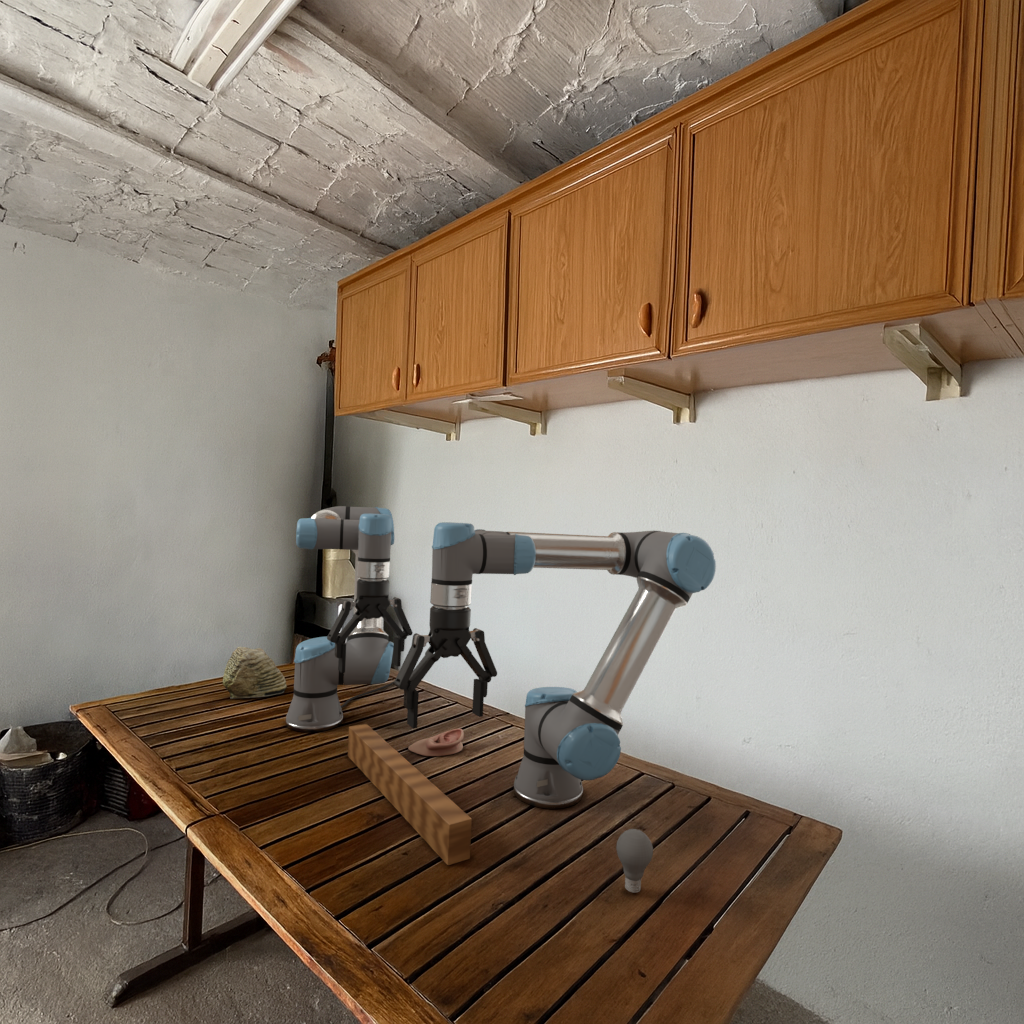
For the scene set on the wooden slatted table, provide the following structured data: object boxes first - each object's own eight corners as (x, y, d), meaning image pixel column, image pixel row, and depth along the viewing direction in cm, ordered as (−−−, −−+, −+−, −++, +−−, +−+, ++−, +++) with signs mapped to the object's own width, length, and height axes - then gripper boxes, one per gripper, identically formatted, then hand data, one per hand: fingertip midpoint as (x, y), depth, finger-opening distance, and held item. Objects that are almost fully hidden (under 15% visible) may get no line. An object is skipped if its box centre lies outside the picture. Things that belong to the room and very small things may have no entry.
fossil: (218, 695, 195) (220, 647, 195) (278, 685, 208) (279, 640, 207) (228, 703, 189) (230, 653, 188) (289, 692, 201) (290, 645, 201)
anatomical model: (404, 737, 158) (420, 722, 169) (403, 753, 158) (419, 736, 169) (455, 743, 155) (468, 727, 166) (454, 760, 155) (467, 742, 166)
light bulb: (610, 879, 108) (613, 822, 108) (644, 879, 109) (647, 822, 109) (619, 902, 102) (622, 840, 102) (655, 901, 103) (658, 840, 103)
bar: (347, 756, 155) (348, 726, 155) (365, 752, 158) (366, 723, 157) (447, 865, 111) (449, 824, 111) (470, 858, 113) (471, 818, 113)
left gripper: (325, 582, 140) (321, 678, 140) (428, 579, 153) (424, 666, 154) (315, 578, 146) (312, 670, 146) (415, 575, 160) (411, 659, 160)
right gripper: (395, 613, 107) (390, 738, 107) (517, 605, 121) (513, 716, 121) (378, 606, 113) (374, 724, 114) (497, 599, 127) (492, 704, 127)
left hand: (369, 668), depth 150 cm, fingers open, 13 cm apart
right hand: (445, 720), depth 117 cm, fingers open, 13 cm apart
